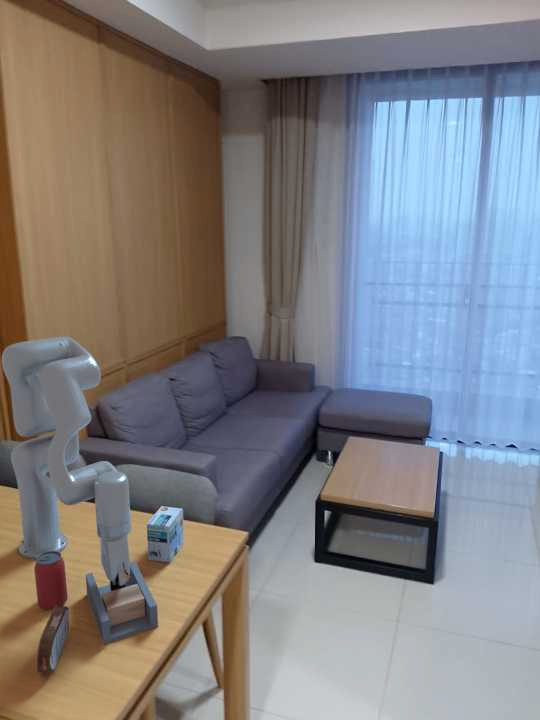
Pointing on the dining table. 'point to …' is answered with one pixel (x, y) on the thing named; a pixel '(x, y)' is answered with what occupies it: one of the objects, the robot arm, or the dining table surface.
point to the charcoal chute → (128, 627)
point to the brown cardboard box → (124, 604)
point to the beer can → (50, 580)
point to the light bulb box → (165, 534)
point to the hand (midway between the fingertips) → (118, 596)
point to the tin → (53, 640)
